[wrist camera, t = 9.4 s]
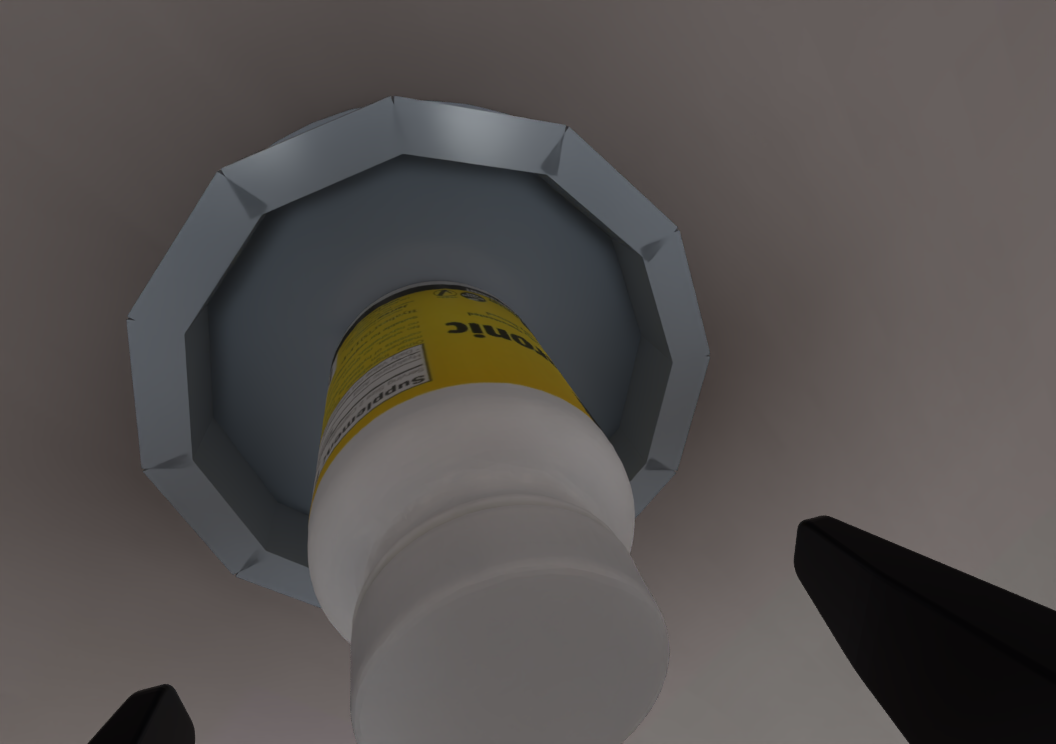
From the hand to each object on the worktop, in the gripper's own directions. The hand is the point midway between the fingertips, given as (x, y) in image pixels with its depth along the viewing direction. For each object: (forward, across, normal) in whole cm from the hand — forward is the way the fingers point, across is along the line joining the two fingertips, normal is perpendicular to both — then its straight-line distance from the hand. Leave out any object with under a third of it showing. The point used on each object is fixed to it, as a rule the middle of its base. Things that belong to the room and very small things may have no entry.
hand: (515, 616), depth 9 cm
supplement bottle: (+9, 0, 0) cm, 9 cm away
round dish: (+9, 0, 0) cm, 9 cm away
